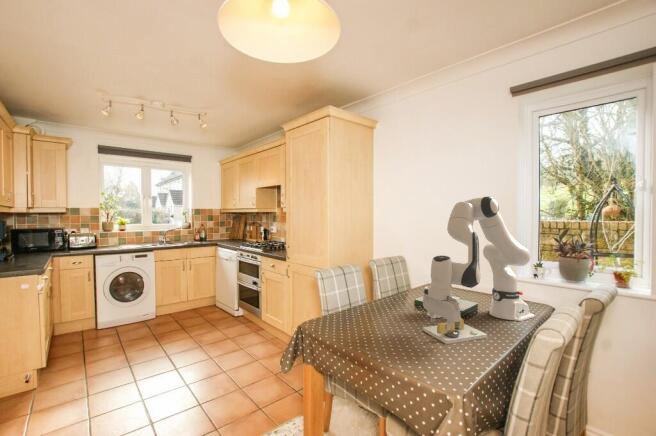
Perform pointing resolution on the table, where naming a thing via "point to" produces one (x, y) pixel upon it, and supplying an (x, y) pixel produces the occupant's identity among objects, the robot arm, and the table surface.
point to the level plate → (464, 334)
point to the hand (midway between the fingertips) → (440, 325)
